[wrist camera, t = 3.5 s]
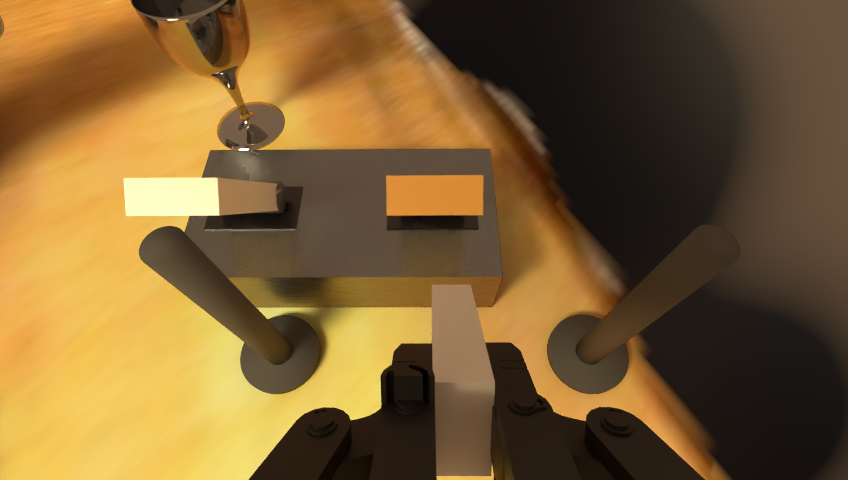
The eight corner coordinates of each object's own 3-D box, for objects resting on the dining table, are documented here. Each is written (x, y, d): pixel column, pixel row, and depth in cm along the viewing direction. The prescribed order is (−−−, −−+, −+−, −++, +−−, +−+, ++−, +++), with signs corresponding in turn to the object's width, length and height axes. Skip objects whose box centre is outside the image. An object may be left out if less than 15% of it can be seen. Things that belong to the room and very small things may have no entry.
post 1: (233, 342, 35) (78, 225, 20) (302, 305, 37) (209, 170, 21) (260, 409, 33) (105, 337, 17) (332, 367, 34) (252, 266, 19)
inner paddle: (286, 212, 34) (219, 219, 23) (223, 212, 34) (126, 219, 23) (285, 181, 34) (217, 173, 23) (222, 182, 34) (123, 174, 23)
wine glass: (227, 165, 44) (143, 31, 31) (203, 116, 48) (118, -23, 35) (299, 134, 46) (249, -5, 33) (271, 89, 50) (216, -52, 37)
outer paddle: (464, 211, 34) (482, 217, 23) (399, 211, 34) (386, 218, 23) (464, 180, 34) (483, 172, 23) (399, 181, 34) (386, 172, 23)
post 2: (531, 341, 35) (615, 224, 19) (588, 305, 37) (708, 168, 21) (581, 409, 33) (724, 337, 17) (640, 367, 34) (822, 264, 18)
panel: (492, 306, 37) (502, 275, 31) (206, 307, 37) (169, 276, 31) (482, 190, 42) (490, 147, 37) (237, 191, 43) (209, 149, 37)
